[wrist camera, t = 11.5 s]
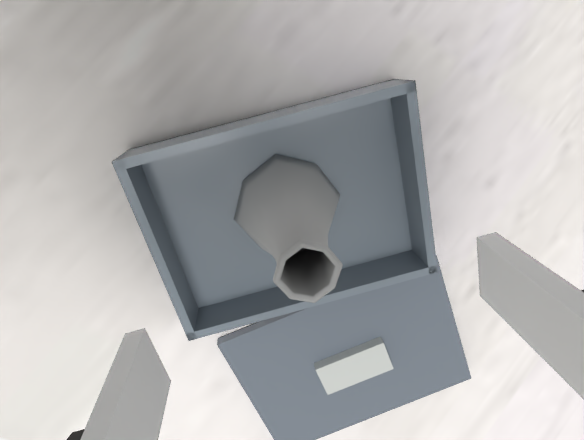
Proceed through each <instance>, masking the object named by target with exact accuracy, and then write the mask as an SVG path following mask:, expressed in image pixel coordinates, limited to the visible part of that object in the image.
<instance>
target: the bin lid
mask: <svg viewBox="0 0 584 440" xmlns="http://www.w3.org/2000/svg"><path fill="white" fill-rule="evenodd" d="M436 264H437V273H433V274H430V275H426V276H422V277H419V278H415V279H411V280H408V281H404V282H401V283H397V284H393V285H390V286H386V287H382V288H379V289H375V290H372V291H368V292H364V293H361V294H357V295H353V296H350V297H346V298H342V299H339V300H335V301H332V302H328V303H324V304H321V305H317V306H313V307H310V308H306V309H303V310H299V311H295V312H292V313H288V314H284V315H281V316H277V317H274V318H270V319H266V320H263V321H260V322H257V323H255V324H252V325H250V326H247V327H245V328H242V329H240V330H238V331H235V332H233V333H230V334H228V335H225V336H223V337H220V338H218V342H217V345H218V347H219V349H220V350H221V352H222V354H223V355H224V357H225V359H226V360H227V362H228V364H229V365H230V367H231V369H232V370H233V372H234V374H235V375H236V377H237V379H238V380H239V382H240V384H241V385H242V387H243V389H244V390H245V392H246V394H247V395H248V397H249V399H250V400H251V402H252V404H253V405H254V407H255V409H256V410H257V412H258V414H259V415H260V417H261V419H262V420H263V422H264V424H265V425H266V427H267V429H268V430H269V432H270V433H271V435H272V437H273V438H274V440H316V439H318V438H321V437H324V436H326V435H329V434H331V433H334V432H336V431H339V430H341V429H344V428H346V427H349V426H351V425H354V424H357V423H359V422H362V421H364V420H367V419H369V418H372V417H374V416H377V415H379V414H382V413H385V412H387V411H390V410H392V409H395V408H397V407H400V406H402V405H405V404H407V403H410V402H413V401H415V400H418V399H420V398H423V397H425V396H428V395H430V394H433V393H435V392H438V391H440V390H443V389H446V388H448V387H451V386H453V385H456V384H458V383H461V382H463V381H466V380H468V379H471V376H470V372H469V369H468V365H467V362H466V358H465V354H464V351H463V347H462V344H461V340H460V337H459V333H458V330H457V326H456V323H455V319H454V316H453V312H452V309H451V305H450V302H449V298H448V295H447V291H446V288H445V284H444V280H443V277H442V273H441V270H440V266H439V263H438V259H437V256H436Z"/></svg>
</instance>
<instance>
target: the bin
mask: <svg viewBox="0 0 584 440" xmlns="http://www.w3.org/2000/svg"><path fill="white" fill-rule="evenodd" d="M275 154H278V155H282V156H286V157H290V158H294V159H298V160H303V161H307V162H311V163H315V164H317V165H318V167H319V168H320V169H321V170H322V172H323V173H324V174H325V176H326V177H327V178H328V179H329V181H330V182H331V183H332V184H333V186H334V187H335V188H336V190H337V191H338V192H339V193H340V197H339V201H338V204H337V207H336V210H335V213H334V216H333V220H332V223H331V226H330V229H329V232H328V247H329V248H330V250H331V251H332V252H333V253H334V254H335V255H336V257H337V258H338V259H339V260H340V261H341V263H342V265H343V266H342V269H341V272H340V275H339V278H338V281H337V284H336V287H335V288H334V289H333V290H332V291H330V292H329V293H328V294H326V295H325V296H324V297H322V298H321V299H319V300H318V301H317V302H315V303H311V302H305V301H299V300H293V299H289V298H288V297H287V296H286V294H285V293H284V292H283V291H282V290H281V289H280V288H279V287H278V286H277V285H276V284H275V283H274V282H273V277H274V273H275V270H276V266H277V263H276V260H275V258H274V257H273V255H271V254H270V253H268V252H266V251H265V250H263V249H262V248H261V247H260V246H259V245H258V244H257V243H256V242H255V241H254V240H253V239H252V238H251V237H250V236H249V235H248V234H247V233H246V232H245V231H244V229H243V228H242V227H241V226H240V225H239V224H238V223H237V222H236V221H235V220H234V217H235V213H236V208H237V204H238V200H239V195H240V191H241V186H242V182H243V180H244V179H246V178H247V177H248V176H249V175H250V174H252V173H253V172H254V171H255V170H257V169H258V168H259V167H260V166H261V165H263V164H264V163H265V162H266V161H268V160H269V159H270V158H271V157H272V156H274V155H275ZM112 164H113V166H114V168H115V171H116V173H117V175H118V178H119V180H120V182H121V185H122V187H123V189H124V192H125V194H126V196H127V199H128V201H129V203H130V206H131V208H132V210H133V213H134V215H135V217H136V220H137V222H138V224H139V227H140V229H141V231H142V233H143V236H144V238H145V240H146V243H147V245H148V247H149V250H150V252H151V254H152V257H153V259H154V261H155V264H156V266H157V268H158V271H159V273H160V275H161V278H162V280H163V282H164V285H165V287H166V289H167V292H168V294H169V296H170V299H171V301H172V303H173V306H174V308H175V310H176V313H177V315H178V317H179V319H180V322H181V324H182V326H183V329H184V331H185V333H186V336H187V338H188V340H189V341H190V340H194V339H197V338H201V337H205V336H208V335H212V334H215V333H219V332H223V331H226V330H230V329H234V328H237V327H241V326H244V325H248V324H252V323H255V322H259V321H263V320H266V319H270V318H274V317H277V316H281V315H284V314H288V313H292V312H295V311H299V310H303V309H306V308H310V307H313V306H317V305H321V304H324V303H328V302H332V301H335V300H339V299H342V298H346V297H350V296H353V295H357V294H361V293H364V292H368V291H372V290H375V289H379V288H382V287H386V286H390V285H393V284H397V283H401V282H404V281H408V280H411V279H415V278H419V277H422V276H426V275H430V274H433V273H437V264H436V255H435V247H434V238H433V229H432V221H431V212H430V204H429V195H428V186H427V178H426V169H425V161H424V152H423V144H422V135H421V126H420V118H419V109H418V101H417V92H416V83H415V81H413V80H399V79H393V80H389V81H385V82H382V83H378V84H374V85H370V86H367V87H363V88H359V89H355V90H352V91H348V92H344V93H340V94H337V95H333V96H329V97H325V98H322V99H318V100H314V101H310V102H307V103H303V104H299V105H295V106H292V107H288V108H284V109H280V110H277V111H273V112H269V113H265V114H262V115H258V116H254V117H250V118H247V119H243V120H239V121H235V122H232V123H228V124H224V125H220V126H217V127H213V128H209V129H205V130H202V131H198V132H194V133H190V134H187V135H183V136H179V137H175V138H172V139H168V140H164V141H160V142H157V143H153V144H149V145H145V146H142V147H138V148H134V149H130V150H128V151H126V152H125V153H123V154H122V155H121V156H119V157H118V158H116V159H115V160H113V161H112Z"/></svg>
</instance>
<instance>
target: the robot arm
mask: <svg viewBox="0 0 584 440" xmlns="http://www.w3.org/2000/svg"><path fill="white" fill-rule="evenodd" d="M477 252H478V271H479V289H480V296H481V297H482V298H483V299H484V300H485V301H486V302H487V303H488V304H489V305H490V306H491V307H492V308H493V309H494V310H495V311H496V312H497V313H498V314H499V315H500V316H501V317H502V318H503V319H504V320H505V321H506V322H507V323H508V324H509V325H510V326H511V327H512V328H513V329H514V330H515V331H516V332H517V333H518V334H519V335H520V336H521V337H522V338H523V339H524V340H525V341H526V342H527V343H528V344H529V345H530V346H531V347H532V348H533V349H534V350H535V351H536V352H537V353H538V354H539V355H540V356H541V357H542V358H543V359H544V360H545V361H546V362H547V363H548V364H549V365H550V366H551V367H552V368H553V369H554V370H555V371H556V372H557V373H558V374H559V375H560V376H561V377H562V378H563V379H564V380H565V381H566V382H567V383H568V384H569V385H570V386H571V387H572V388H573V389H574V390H575V391H576V392H577V393H578V394H579V395H580V396H581V397H582V398H583V399H584V290H579V289H578V288H576V287H575V286H573V285H572V284H570V283H569V282H568V281H566V280H565V279H563V278H562V277H560V276H559V275H557V274H556V273H554V272H553V271H552V270H550V269H549V268H547V267H546V266H544V265H543V264H541V263H540V262H538V261H537V260H536V259H534V258H533V257H531V256H530V255H528V254H527V253H525V252H524V251H522V250H521V249H520V248H518V247H517V246H515V245H514V244H512V243H511V242H509V241H508V240H506V239H505V238H504V237H502V236H501V235H499V234H498V233H496V232H495V233H491V234H487V235H484V236H480V237H477ZM170 383H171V380H170V378H169V376H168V374H167V372H166V370H165V368H164V366H163V364H162V362H161V360H160V358H159V356H158V354H157V352H156V350H155V348H154V346H153V344H152V342H151V340H150V338H149V336H148V334H147V332H146V330H145V328H144V329H140V330H137V331H133V332H130V333H126V334H125V335H124V338H123V340H122V343H121V345H120V347H119V350H118V352H117V354H116V357H115V359H114V361H113V364H112V366H111V368H110V371H109V373H108V376H107V378H106V380H105V383H104V385H103V387H102V390H101V392H100V394H99V397H98V399H97V402H96V404H95V406H94V409H93V411H92V413H91V416H90V418H89V420H88V423H87V425H86V428H85V429H83V430H80V431H76V432H73V433H71V435H70V436H69V437H68V438H67V440H158V437H159V433H160V428H161V424H162V419H163V414H164V410H165V405H166V401H167V396H168V392H169V387H170Z"/></svg>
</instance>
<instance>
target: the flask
mask: <svg viewBox="0 0 584 440" xmlns="http://www.w3.org/2000/svg"><path fill="white" fill-rule="evenodd" d="M339 197H340V193H339V192H338V191H337V190H336V188H335V187H334V186H333V184H332V183H331V182H330V181H329V179H328V178H327V177H326V176H325V174H324V173H323V172H322V170H321V169H320V168H319V167H318V165H317V164H315V163H311V162H307V161H303V160H298V159H294V158H290V157H286V156H282V155H278V154H275V155H274V156H272V157H271V158H270V159H269V160H268V161H266V162H265V163H264V164H263V165H261V166H260V167H259V168H258V169H257V170H255V171H254V172H253V173H252V174H250V175H249V176H248V177H247V178H246V179H244V180H243V182H242V186H241V191H240V195H239V200H238V204H237V208H236V213H235V217H234V220H235V221H236V222H237V223H238V224H239V225H240V226H241V227H242V228H243V229H244V231H245V232H246V233H247V234H248V235H249V236H250V237H251V238H252V239H253V240H254V241H255V242H256V243H257V244H258V245H259V246H260V247H261V248H262V249H263V250H265V251H266V252H268V253H270V254H271V255H273V257H274V258H275V260H276V263H277V266H276V270H275V273H274V277H273V282H274V283H275V284H276V285H277V286H278V287H279V288H280V289H281V290H282V291H283V292H284V293H285V294H286V296H287V297H288V298H289V299H293V300H299V301H305V302H311V303H315V302H317V301H318V300H319V299H321V298H322V297H324V296H325V295H326V294H328V293H329V292H330V291H332V290H333V289H334V288H335V287H336V284H337V281H338V278H339V275H340V272H341V269H342V266H343V265H342V263H341V261H340V260H339V259H338V258H337V257H336V255H335V254H334V253H333V252H332V251H331V250H330V248H329V247H328V232H329V229H330V226H331V223H332V220H333V216H334V213H335V210H336V207H337V204H338V201H339Z"/></svg>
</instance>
